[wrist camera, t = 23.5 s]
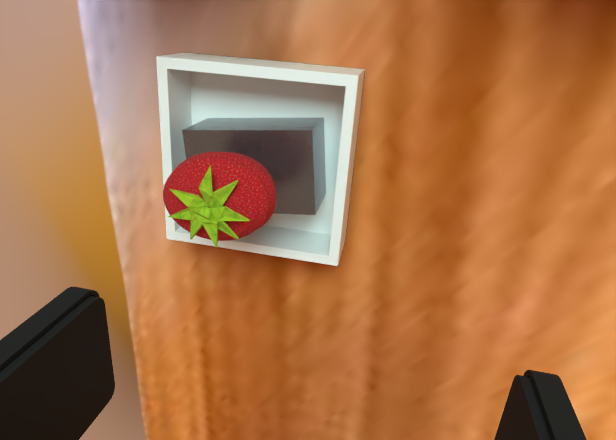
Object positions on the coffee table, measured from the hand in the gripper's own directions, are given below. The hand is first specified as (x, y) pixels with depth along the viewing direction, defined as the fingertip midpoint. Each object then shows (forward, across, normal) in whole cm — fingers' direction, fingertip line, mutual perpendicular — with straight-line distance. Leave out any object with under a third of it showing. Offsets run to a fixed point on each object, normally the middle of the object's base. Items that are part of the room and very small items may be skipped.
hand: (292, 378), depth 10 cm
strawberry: (+24, +9, +4) cm, 26 cm away
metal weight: (+29, +9, +4) cm, 31 cm away
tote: (+30, +9, +4) cm, 32 cm away
